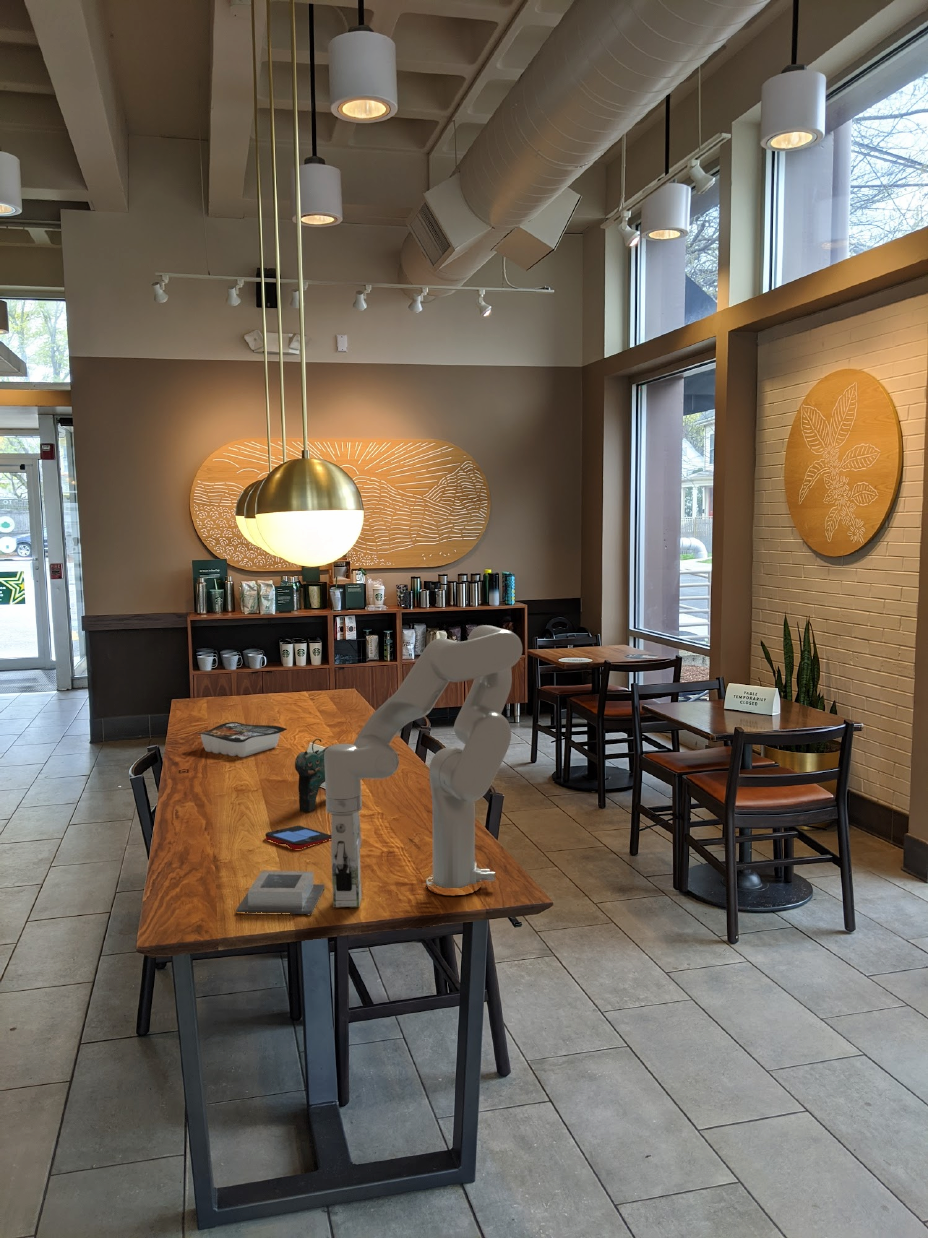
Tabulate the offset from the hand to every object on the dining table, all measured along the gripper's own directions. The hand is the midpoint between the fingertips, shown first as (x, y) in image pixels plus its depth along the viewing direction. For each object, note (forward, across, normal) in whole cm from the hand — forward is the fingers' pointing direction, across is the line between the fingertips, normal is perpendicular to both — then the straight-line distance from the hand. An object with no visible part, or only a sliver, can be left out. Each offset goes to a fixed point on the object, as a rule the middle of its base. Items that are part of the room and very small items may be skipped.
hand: (346, 883), depth 199 cm
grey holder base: (+4, +1, +15) cm, 15 cm away
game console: (+5, +41, +20) cm, 45 cm away
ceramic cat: (+5, +71, +20) cm, 74 cm away
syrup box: (+5, 0, 0) cm, 5 cm away
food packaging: (+5, +135, +62) cm, 149 cm away
